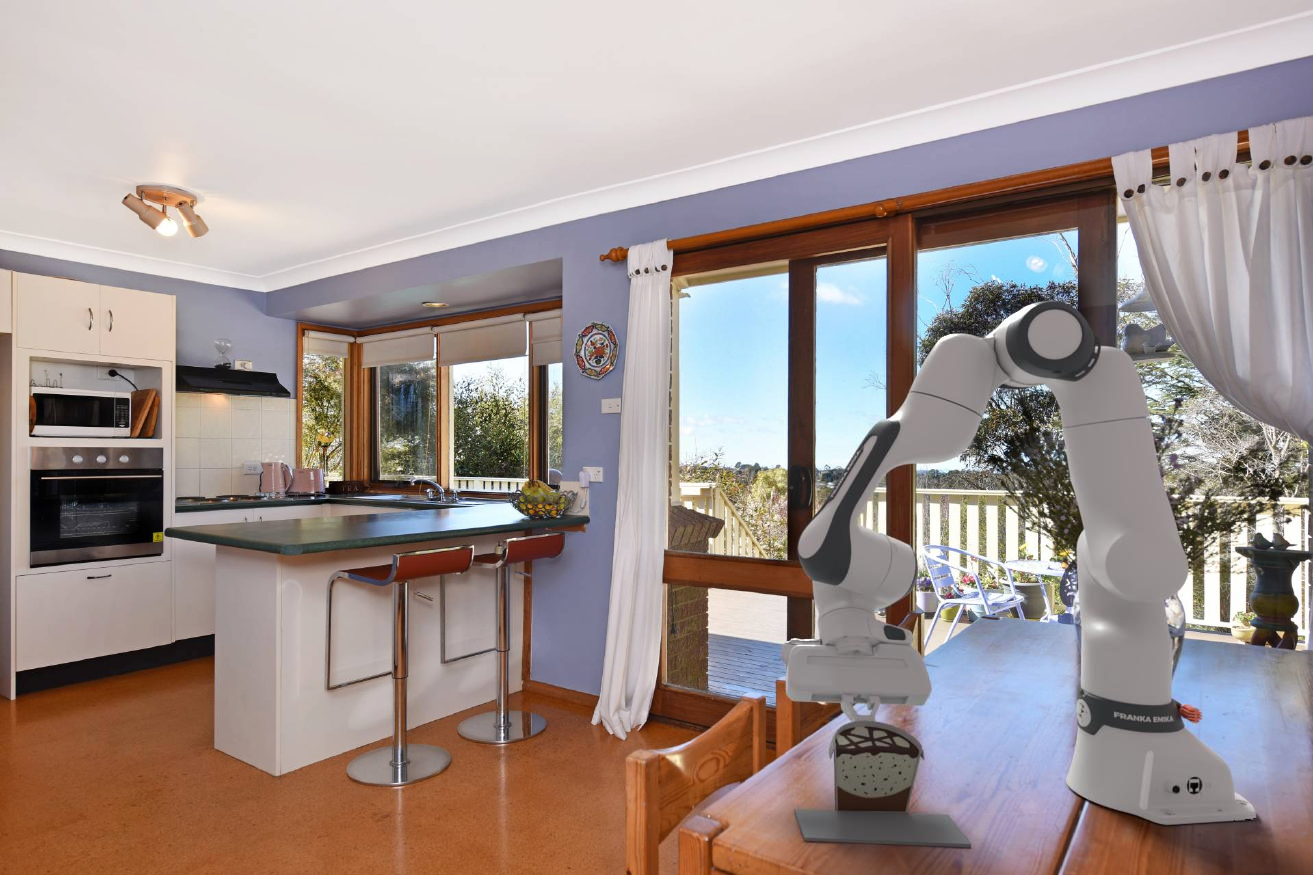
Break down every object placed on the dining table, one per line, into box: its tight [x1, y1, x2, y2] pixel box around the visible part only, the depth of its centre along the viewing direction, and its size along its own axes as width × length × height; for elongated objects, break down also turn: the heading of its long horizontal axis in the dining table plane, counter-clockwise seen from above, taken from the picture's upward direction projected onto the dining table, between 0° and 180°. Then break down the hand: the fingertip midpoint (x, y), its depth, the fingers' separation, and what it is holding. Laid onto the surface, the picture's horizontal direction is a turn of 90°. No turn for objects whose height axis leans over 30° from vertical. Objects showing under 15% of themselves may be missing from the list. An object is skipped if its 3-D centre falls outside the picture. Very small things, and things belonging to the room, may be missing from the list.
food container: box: [828, 720, 925, 813], centre depth 102 cm, size 12×6×10 cm, turn 92°
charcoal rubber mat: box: [793, 808, 972, 848], centre depth 96 cm, size 20×8×1 cm, turn 89°
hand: (864, 730), depth 105 cm, fingers closed, pressing on food container
